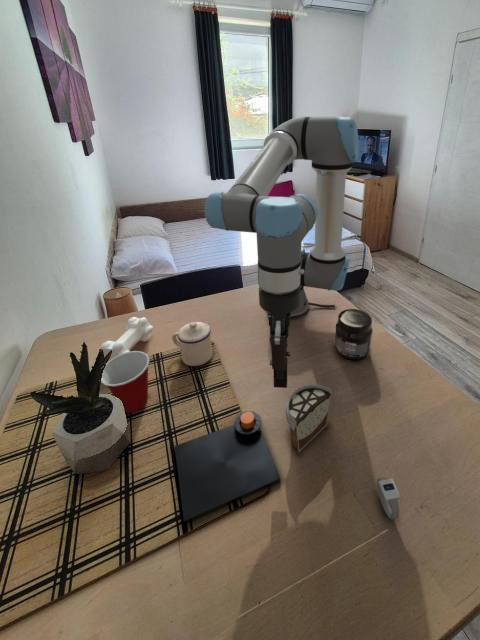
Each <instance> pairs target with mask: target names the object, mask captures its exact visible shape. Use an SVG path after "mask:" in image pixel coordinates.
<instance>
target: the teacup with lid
mask: <svg viewBox="0 0 480 640" xmlns="http://www.w3.org/2000/svg"><path fill="white" fill-rule="evenodd" d="M211 332H212V329H211V327H210V326H209V324H207V323H205V322H203V321H191V322H189V323H187V324H185V325H183V326H181V328H179V329H178V331H176V332H174V333H173V334H172V336H171V340H172V342H173V344H174V345H175V346H176V347H178V348H179V349H180V355H181V360H182V362H183V364H185V365H187V366H188V367H189V366H190V367H198V366H202V365H204V364H206V363H207V362H209V361H210V360H211V358H212V357H213V346H212V345H213V344H212V338H211V337H212V336H211Z"/></svg>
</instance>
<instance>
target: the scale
mask: <svg viewBox="0 0 480 640" xmlns="http://www.w3.org/2000/svg"><path fill="white" fill-rule="evenodd" d="M245 412H251V413H253V414H254V421H255V423H254V426H253V427H252V428H250V429H244V428H243V427H242V426H241V415H242V414H243V413H245ZM262 427H263V425H262V418H261V415H260V414H259V413H257V412H256V411H254V410H245V411H242V412H240V413H239V414H238V415H237V416H236V417H235V418H234V422H233V425H230V426H227V427H224V428H222V429H218V430H216V431H213V432H210V433H207V434H205V435H201V436H199V437H196V438H193V439H191V440H188V441H186V442H181V443H179V444H177V445H174V453H175V461H176V470H177V478H178V485H179V486H178V487H179V493H180V501H181V502H180V503H181V509H182V511H181V512H182V518H183V524H184V525H185V526H186V525H188V524H190V523H192V522H194V521H196V520H199V519H201V518H203V517H206V516H207V515H210V514H213V513H214V512H216V511H219V510H221V509H224V508H225V507H228V506H230V505H232V504H234V503H237V502H239V501H241V500H244V499H246V498H248V497H250V496H253V495H255V494H257V493H259V492H262V491H264V490H266V489H268V488H270V487H272V486H275V485H277V484H279V483H281V482H282V481H281V475H280V473H279V471H278V468H277V466H276V463H275V461H274V458H273V456H272V454H271V451H270V449H269V446H268V443H267V441H266V438H265V436H264V433H263V431H262Z"/></svg>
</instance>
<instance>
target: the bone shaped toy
mask: <svg viewBox="0 0 480 640" xmlns="http://www.w3.org/2000/svg"><path fill="white" fill-rule="evenodd" d="M153 331H154V326H153V325H151V324H150V323H149V321H148V319H147V318H146V317H145V316H144V317H136V316H133V317H130V318H129V319H128V320H127V326H126V327H125V329H124V333H122V335H121V336H120V337H119V338H118V339H117V340H115V341H114V340H106V341H104V342H103V343H102V344H101V347H100V349H101V351H102V350H103V351H104V355H105V356H106V355H107V354H108V353H109V352H110V351H111V350H112V354H111V357H110V359H109V361H110V360H111V359H113V358H114V357H116V356H118V355H121V354H123V353H126V352H131V350H132V349H133V348H134V347H135V346H136V344H137V343H138V342H148V341H149V340H150V339H151V337H152V336H151V334H152V333H153Z"/></svg>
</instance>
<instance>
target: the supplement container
mask: <svg viewBox="0 0 480 640" xmlns="http://www.w3.org/2000/svg"><path fill="white" fill-rule="evenodd" d="M372 323H373V319H372V316H371V315H370V314H369V313H368V312H366V311H364V310H362V309H358V308H346V309H344V310H342V311H340V312H339V314H338V316H337V322H336V323H335V334H334V335H335V337H334V346H333V348H334V351H335V353H336V354H337V356H339V357H340V358H341V359H342V360H345V361H349V362H361V361H365V359H367V358H368V357H369V356H370V353H371V344H372V337H373V333H374V329H373V326H372Z"/></svg>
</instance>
